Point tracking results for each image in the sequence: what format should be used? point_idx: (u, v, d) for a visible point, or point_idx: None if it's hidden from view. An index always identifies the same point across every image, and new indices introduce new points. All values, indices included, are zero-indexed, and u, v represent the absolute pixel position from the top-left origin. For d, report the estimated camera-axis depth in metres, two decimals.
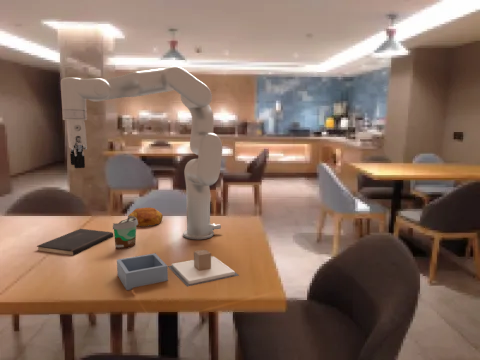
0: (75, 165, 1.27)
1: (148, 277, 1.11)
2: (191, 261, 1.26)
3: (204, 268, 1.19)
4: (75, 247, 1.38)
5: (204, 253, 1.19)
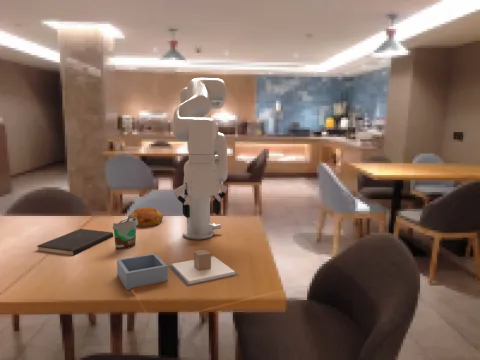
0: None
1: (148, 277, 1.11)
2: (191, 261, 1.26)
3: (204, 268, 1.19)
4: (75, 247, 1.38)
5: (204, 253, 1.19)
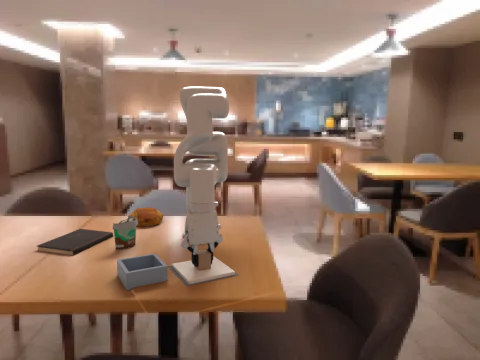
0: None
1: (148, 277, 1.11)
2: (191, 261, 1.26)
3: (204, 268, 1.19)
4: (75, 247, 1.38)
5: (204, 253, 1.19)
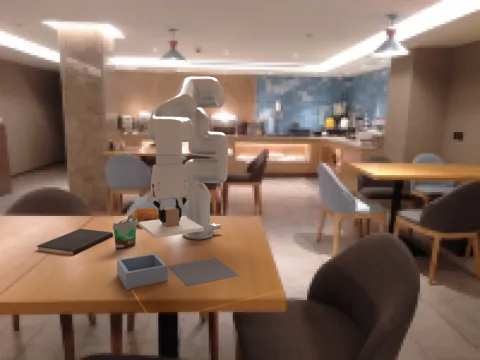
0: None
1: (148, 277, 1.11)
2: (159, 220, 1.21)
3: (172, 224, 1.14)
4: (75, 247, 1.38)
5: (172, 209, 1.14)
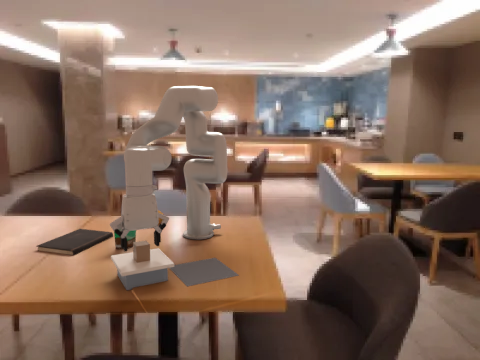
0: None
1: (148, 277, 1.11)
2: (132, 253, 1.20)
3: (142, 260, 1.13)
4: (75, 247, 1.38)
5: (142, 244, 1.13)
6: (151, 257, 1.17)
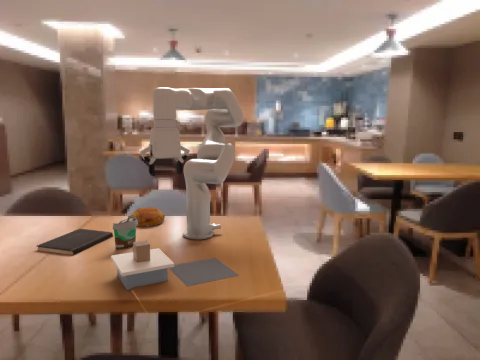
0: None
1: (148, 277, 1.11)
2: (132, 253, 1.20)
3: (142, 260, 1.13)
4: (75, 247, 1.38)
5: (142, 244, 1.13)
6: (151, 257, 1.17)
